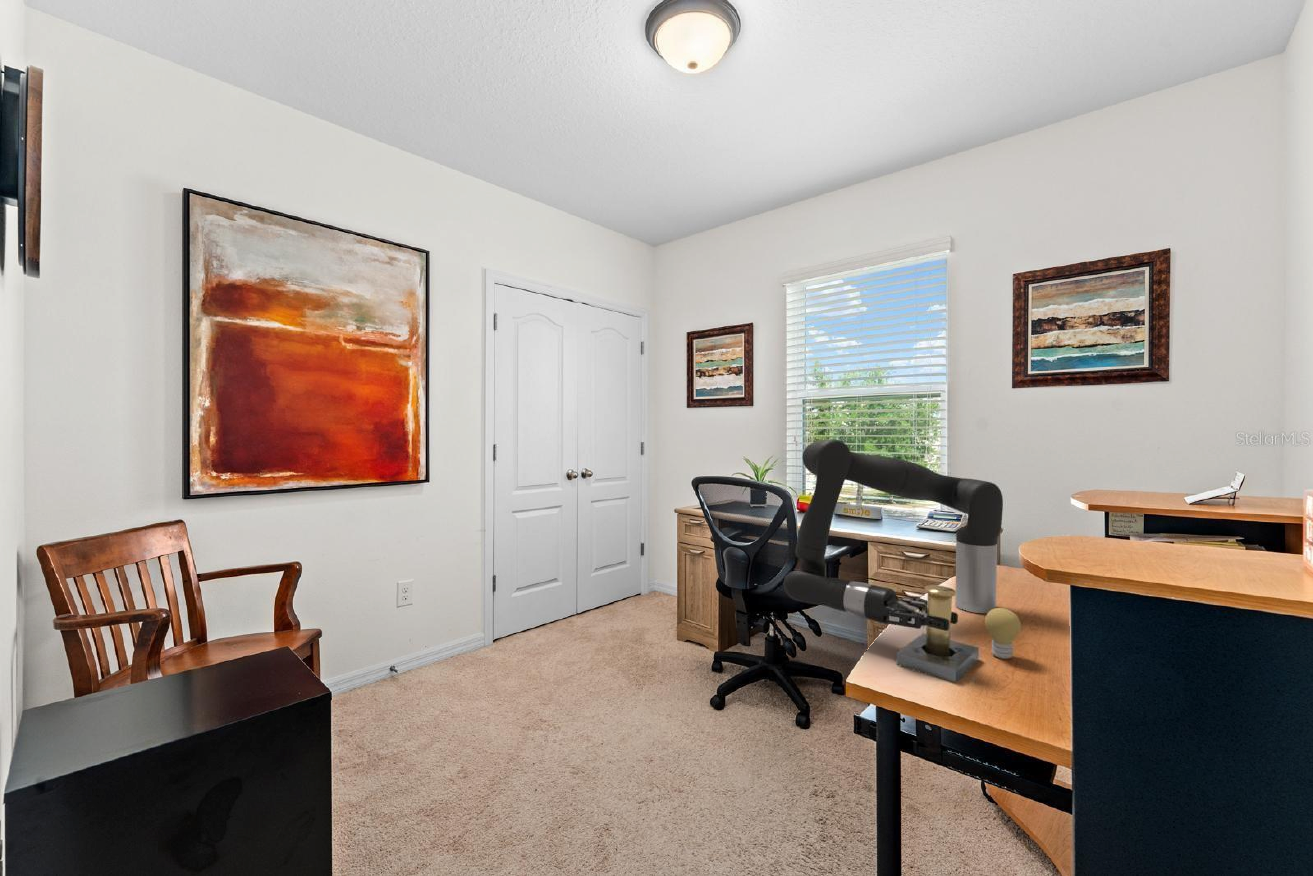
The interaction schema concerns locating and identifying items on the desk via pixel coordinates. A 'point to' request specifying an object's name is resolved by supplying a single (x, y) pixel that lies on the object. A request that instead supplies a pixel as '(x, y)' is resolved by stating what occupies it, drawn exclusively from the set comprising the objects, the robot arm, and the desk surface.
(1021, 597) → the desk surface
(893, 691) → the desk surface
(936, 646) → the rivet
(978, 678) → the desk surface
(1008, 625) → the light bulb
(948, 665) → the jig
